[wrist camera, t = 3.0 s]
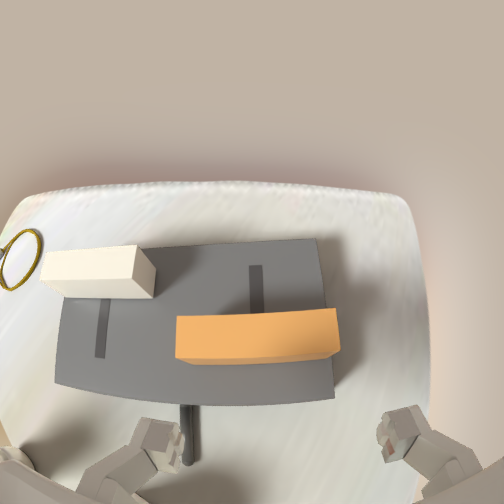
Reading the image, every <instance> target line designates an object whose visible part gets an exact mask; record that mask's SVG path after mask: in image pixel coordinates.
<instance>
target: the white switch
mask: <svg viewBox="0 0 504 504" xmlns="http://www.w3.org/2000/svg"><path fill="white" fill-rule="evenodd" d="M155 275H156V268H155V267H154V266H153V264H152V263H151V262H150V261H149V259H148V258H147V257H146V256H145V254H144V253H143V252H142V250H141V249H140V248H139V247H138V245H128V246H115V247H102V248H90V249H78V250H67V251H55V252H46V255H45V259H44V263H43V266H42V270H41V274H40V278H39V280H40V281H41V282H43V283H44V284H46V285H47V286H49V287H50V288H52V289H53V290H55V291H56V292H58V293H59V294H61V295H62V296H64V297H67V298H123V299H141V298H153V294H154V284H155Z"/></svg>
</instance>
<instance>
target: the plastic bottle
mask: <svg viewBox="0 0 504 504" xmlns="http://www.w3.org/2000/svg"><path fill="white" fill-rule="evenodd" d="M11 459H15V460H17V461H19V462H21V463H23V464H24V465H26V466H28V467H29V468H31V469H32V470H34V471H35V469H34V466H33V464H32V462H31V460H30V459H29V458H28V456H27V455H26V454H25V453H24V452H22V451H21V450H20V449H18V448H15V447H11V446H4V447H0V462H3V461H7V460H11Z"/></svg>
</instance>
